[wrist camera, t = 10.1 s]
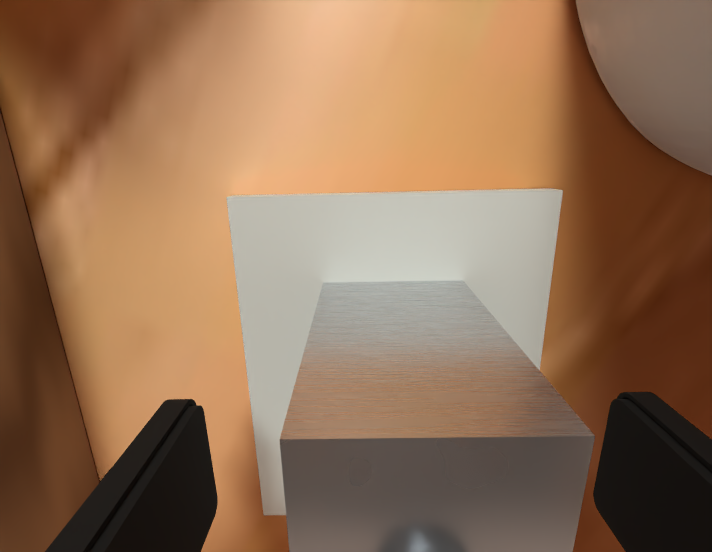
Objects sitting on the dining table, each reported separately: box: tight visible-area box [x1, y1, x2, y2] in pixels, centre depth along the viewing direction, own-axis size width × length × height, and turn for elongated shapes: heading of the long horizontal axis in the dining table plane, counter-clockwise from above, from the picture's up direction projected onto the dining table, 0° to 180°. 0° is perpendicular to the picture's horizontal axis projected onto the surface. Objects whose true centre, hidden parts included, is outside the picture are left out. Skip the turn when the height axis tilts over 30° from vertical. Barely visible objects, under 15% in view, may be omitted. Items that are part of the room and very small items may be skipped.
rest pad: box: [227, 188, 563, 515], centre depth 12 cm, size 11×9×1 cm
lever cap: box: [279, 280, 595, 552], centre depth 9 cm, size 6×4×7 cm, turn 1°
